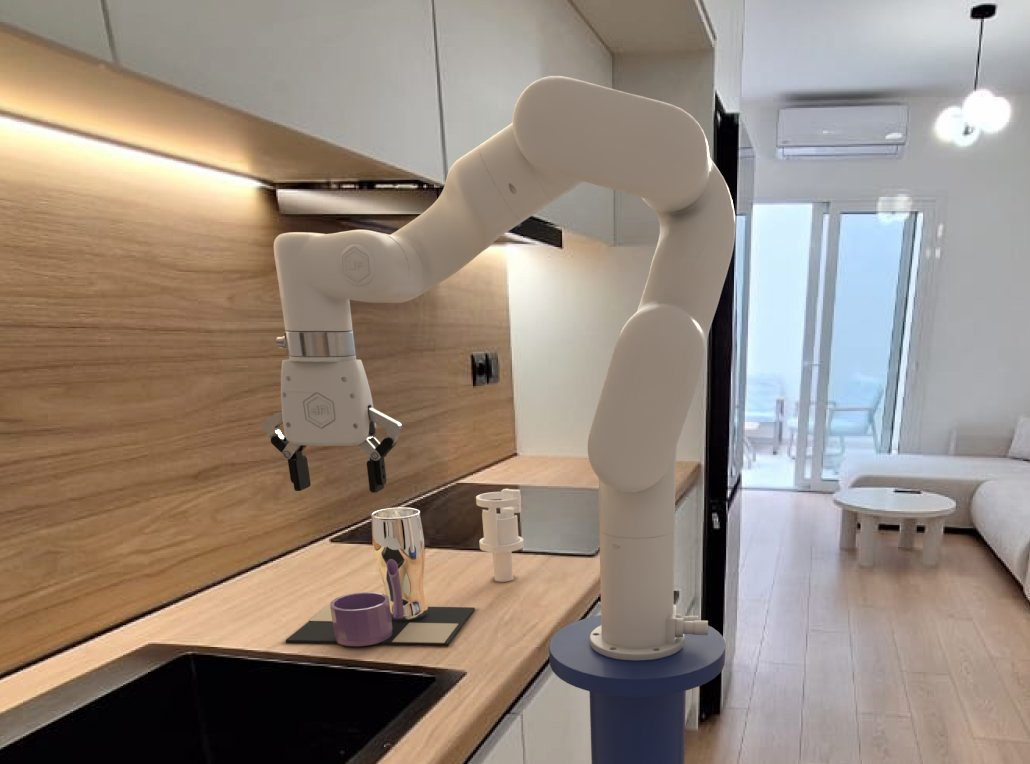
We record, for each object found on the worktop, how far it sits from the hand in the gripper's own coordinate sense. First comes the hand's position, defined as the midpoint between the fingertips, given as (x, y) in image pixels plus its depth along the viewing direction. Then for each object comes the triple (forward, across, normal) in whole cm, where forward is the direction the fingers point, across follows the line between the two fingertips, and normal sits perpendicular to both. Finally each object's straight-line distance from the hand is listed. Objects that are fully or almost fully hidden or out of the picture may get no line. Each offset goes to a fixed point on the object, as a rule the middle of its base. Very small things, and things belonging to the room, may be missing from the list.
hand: (340, 489), depth 103 cm
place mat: (+20, +2, +5) cm, 21 cm away
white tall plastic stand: (+20, +14, +27) cm, 36 cm away
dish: (+20, +1, 0) cm, 20 cm away
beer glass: (+20, +4, +8) cm, 22 cm away
